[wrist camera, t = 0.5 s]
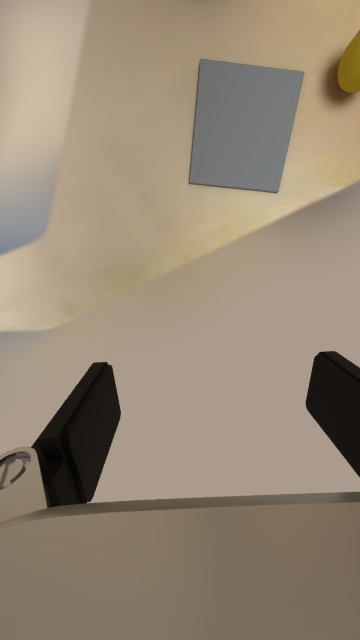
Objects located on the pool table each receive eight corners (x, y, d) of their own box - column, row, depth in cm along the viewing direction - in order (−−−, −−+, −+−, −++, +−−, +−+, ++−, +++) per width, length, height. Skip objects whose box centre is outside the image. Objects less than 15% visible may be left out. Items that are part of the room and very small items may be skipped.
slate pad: (200, 62, 28) (200, 58, 27) (301, 75, 28) (304, 71, 27) (189, 183, 32) (189, 182, 32) (276, 192, 33) (278, 191, 32)
